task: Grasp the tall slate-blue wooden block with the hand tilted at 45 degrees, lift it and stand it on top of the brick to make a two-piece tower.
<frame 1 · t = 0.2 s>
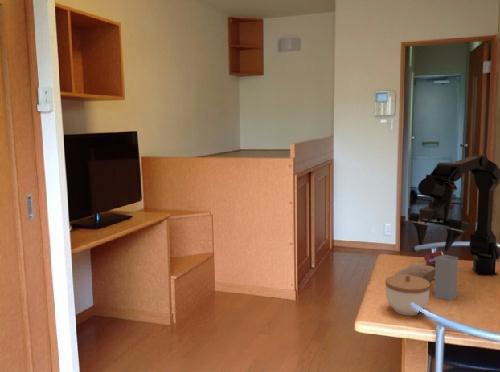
hand: (432, 247, 152), 15 cm above the table, tool tilted 15°, fingers open, 9 cm apart
brick: (414, 283, 165), on the table
geometric puzzle: (433, 266, 183), on the table
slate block: (445, 296, 151), on the table
lidded bowl: (406, 311, 140), on the table
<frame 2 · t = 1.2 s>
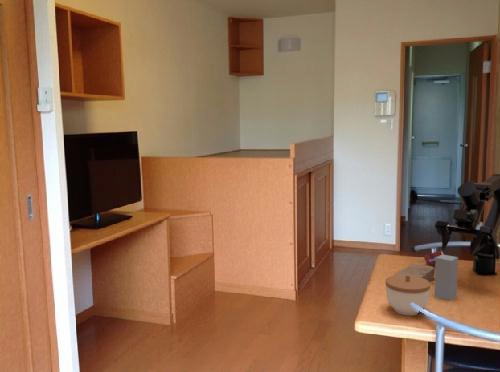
hand: (456, 252, 154), 13 cm above the table, tool tilted 45°, fingers open, 9 cm apart
nothing on the table moved.
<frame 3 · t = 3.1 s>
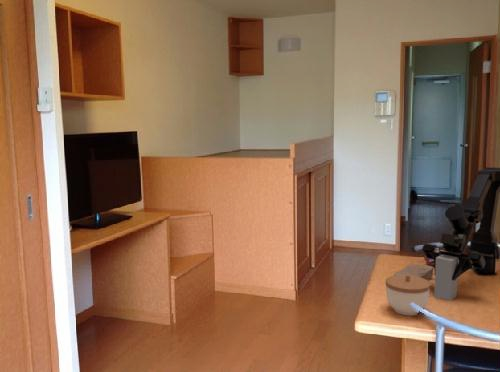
hand: (444, 277, 149), 7 cm above the table, tool tilted 45°, fingers closed on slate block, 5 cm apart
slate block: (445, 296, 151), on the table, touching gripper
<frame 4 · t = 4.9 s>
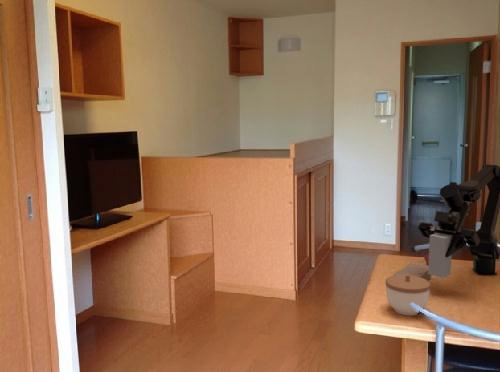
hand: (438, 255, 151), 13 cm above the table, tool tilted 45°, fingers closed on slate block, 5 cm apart
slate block: (439, 274, 152), point 7 cm above the table, touching gripper
everything else where it was.
when the fingers open (13 cm above the table, at t = 6.5 s): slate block drops 2 cm, resting on brick.
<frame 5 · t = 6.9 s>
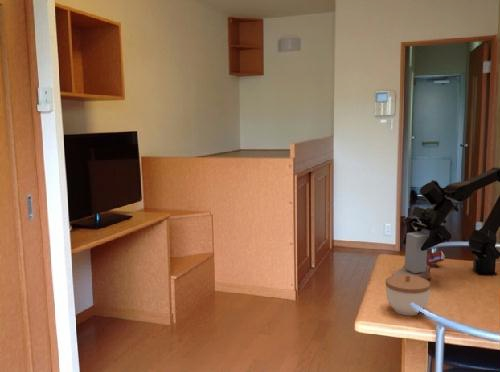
hand: (412, 246, 163), 13 cm above the table, tool tilted 45°, fingers open, 9 cm apart
brick: (411, 282, 166), on the table, touching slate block
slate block: (414, 269, 165), point 4 cm above the table, touching brick
everything else where it was.
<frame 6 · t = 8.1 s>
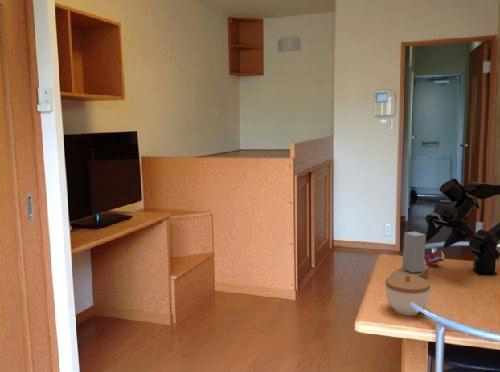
hand: (434, 244, 166), 13 cm above the table, tool tilted 45°, fingers open, 9 cm apart
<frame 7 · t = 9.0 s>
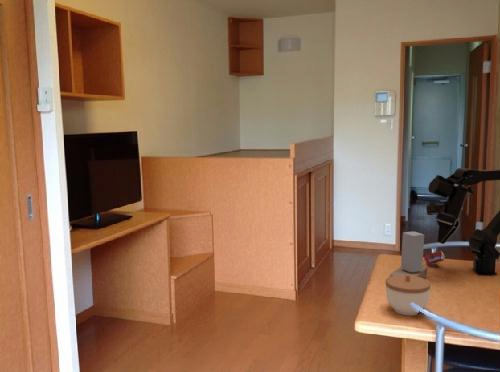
hand: (440, 242, 168), 13 cm above the table, tool tilted 20°, fingers open, 9 cm apart
brick: (408, 282, 167), on the table
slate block: (411, 269, 165), point 4 cm above the table
everything else where it was.
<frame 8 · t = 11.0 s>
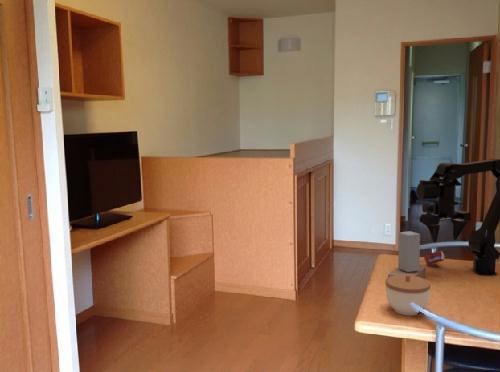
hand: (444, 240, 169), 13 cm above the table, tool pointing down, fingers open, 9 cm apart
brick: (406, 282, 167), on the table, touching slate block
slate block: (408, 269, 166), point 4 cm above the table, touching brick
everything else where it was.
at the end: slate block inside the target area on the brick (0.5 cm from its centre), point 4.9 cm above the brick's base; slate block tilted 2°; the gripper is holding nothing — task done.
